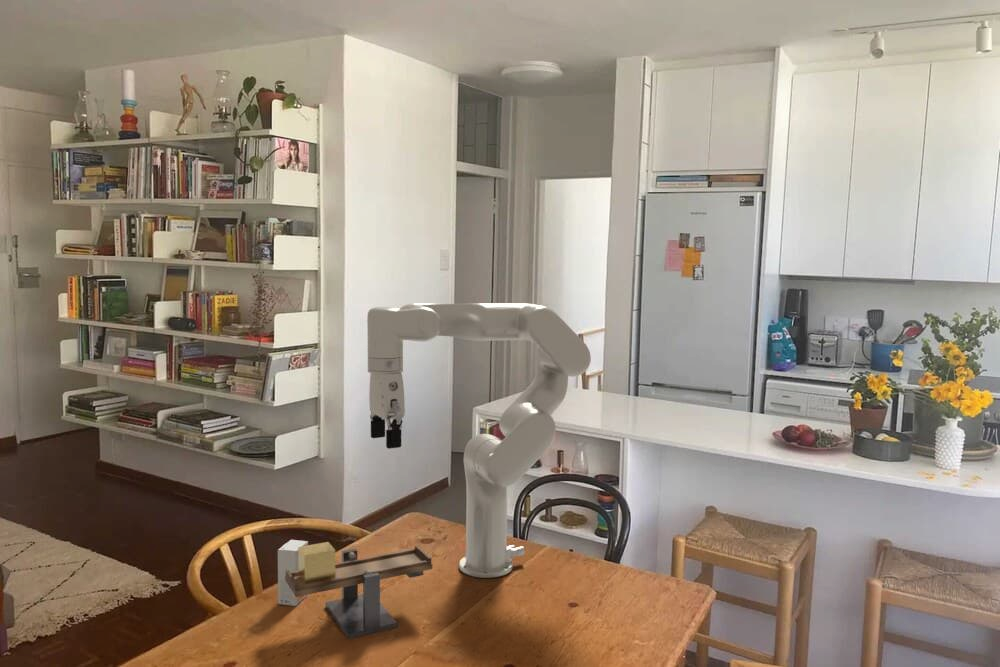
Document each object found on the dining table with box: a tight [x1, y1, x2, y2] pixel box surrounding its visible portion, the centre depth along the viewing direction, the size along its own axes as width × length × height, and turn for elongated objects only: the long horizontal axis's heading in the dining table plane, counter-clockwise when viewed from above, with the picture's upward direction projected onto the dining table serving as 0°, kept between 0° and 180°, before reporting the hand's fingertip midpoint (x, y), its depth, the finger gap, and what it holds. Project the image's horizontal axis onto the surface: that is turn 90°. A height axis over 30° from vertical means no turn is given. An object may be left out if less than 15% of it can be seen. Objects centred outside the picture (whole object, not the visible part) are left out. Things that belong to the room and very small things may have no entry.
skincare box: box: [277, 539, 309, 607], centre depth 165 cm, size 6×4×12 cm
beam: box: [285, 544, 433, 597], centre depth 157 cm, size 28×11×4 cm, turn 119°
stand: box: [325, 548, 398, 640], centre depth 158 cm, size 10×15×12 cm, turn 29°
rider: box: [298, 541, 336, 585], centre depth 153 cm, size 6×5×6 cm
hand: (385, 442), depth 170 cm, fingers open, 9 cm apart
